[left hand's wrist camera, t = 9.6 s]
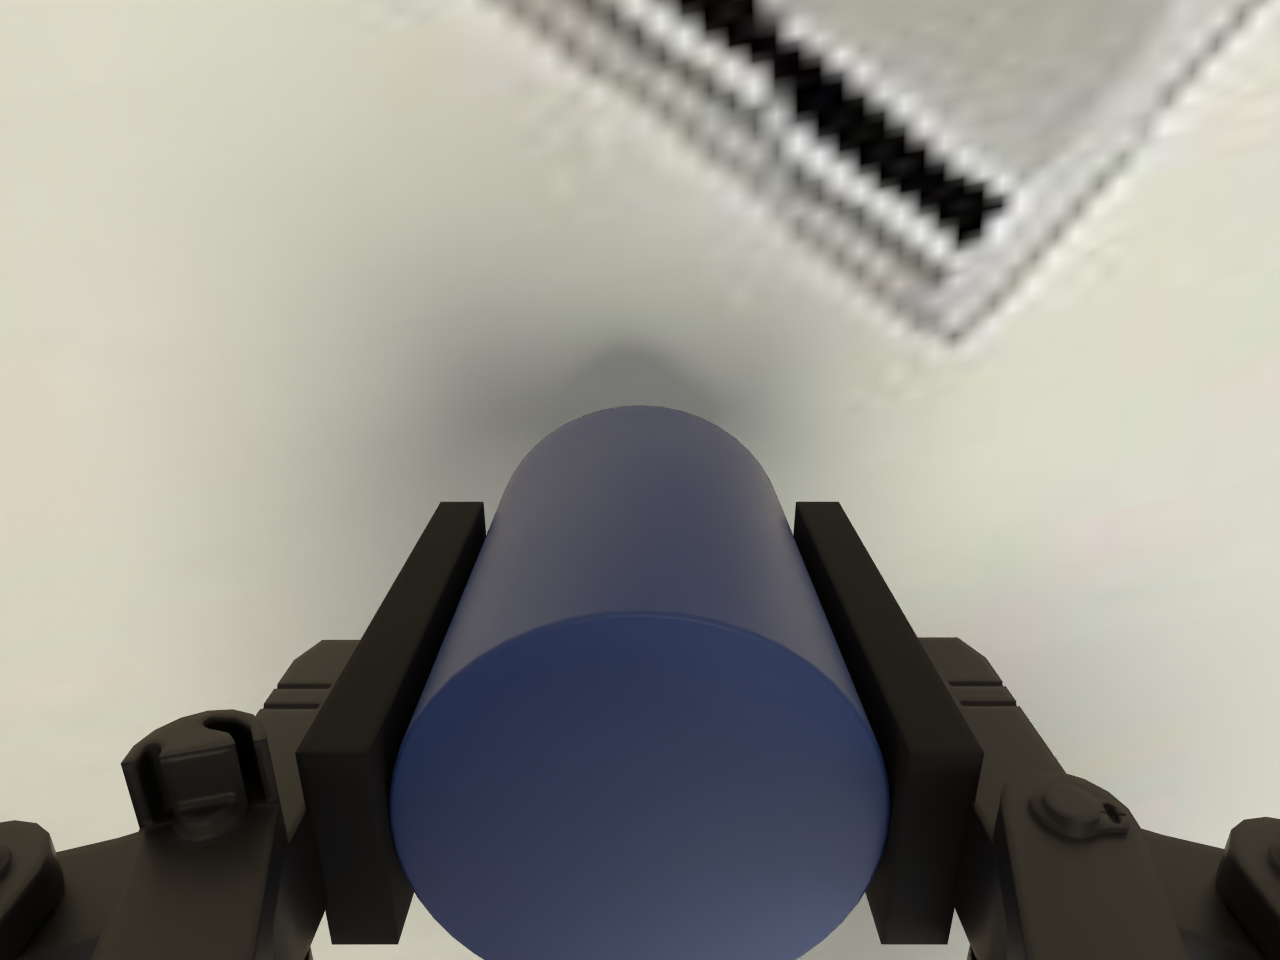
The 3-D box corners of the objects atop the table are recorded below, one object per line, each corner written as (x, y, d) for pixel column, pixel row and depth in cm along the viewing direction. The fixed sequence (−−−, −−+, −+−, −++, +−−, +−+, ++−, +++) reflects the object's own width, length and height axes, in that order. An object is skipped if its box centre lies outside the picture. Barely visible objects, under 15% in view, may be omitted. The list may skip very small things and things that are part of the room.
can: (457, 444, 15) (307, 678, 8) (752, 372, 14) (850, 559, 8) (543, 688, 17) (479, 1037, 10) (805, 632, 16) (921, 961, 10)
